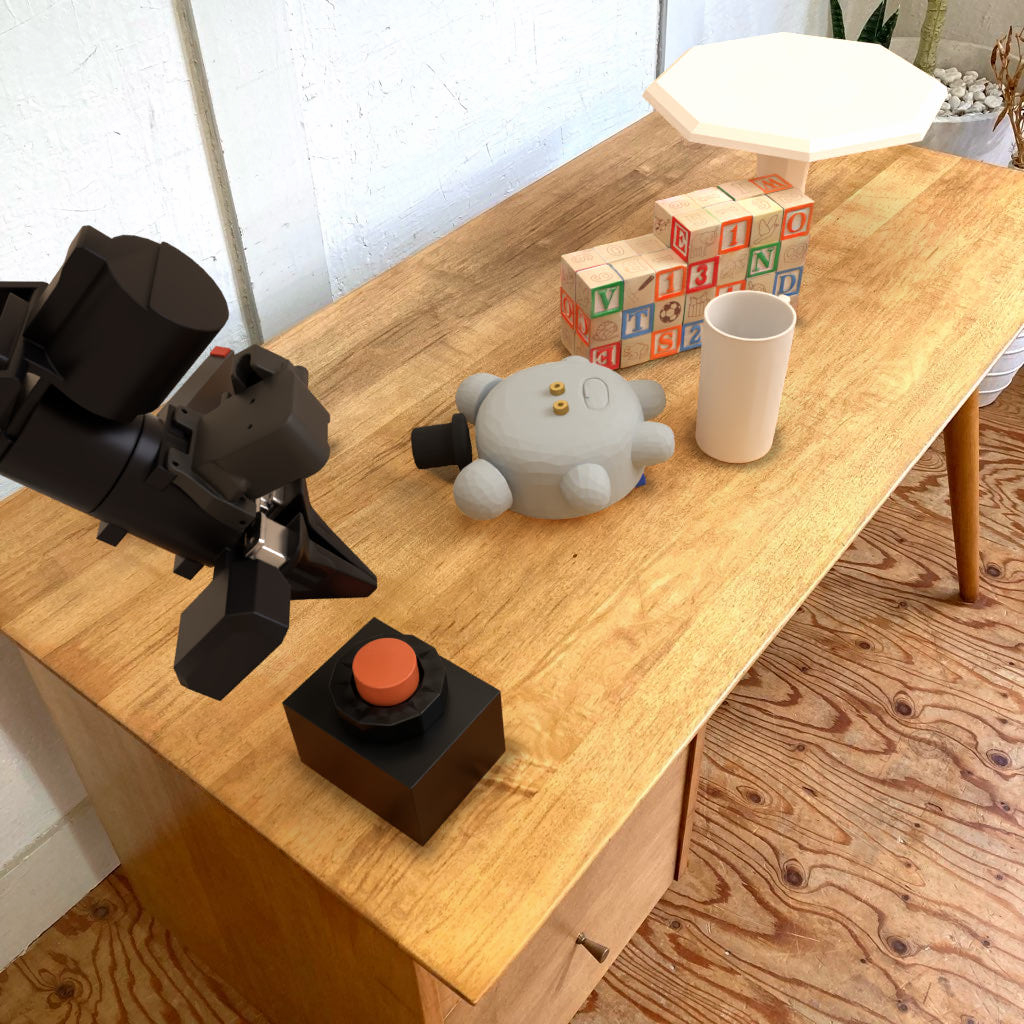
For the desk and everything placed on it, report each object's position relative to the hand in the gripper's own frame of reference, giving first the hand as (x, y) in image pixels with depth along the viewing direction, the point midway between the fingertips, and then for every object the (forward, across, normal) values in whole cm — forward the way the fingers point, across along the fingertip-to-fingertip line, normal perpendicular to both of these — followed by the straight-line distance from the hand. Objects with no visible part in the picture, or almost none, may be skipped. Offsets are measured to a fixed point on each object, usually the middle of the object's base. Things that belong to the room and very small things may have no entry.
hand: (373, 587), depth 59 cm
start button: (+4, -3, +3) cm, 6 cm away
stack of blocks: (+29, +39, -11) cm, 50 cm away
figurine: (+18, +22, 0) cm, 28 cm away
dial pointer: (-3, +27, +16) cm, 31 cm away
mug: (+30, +24, -12) cm, 41 cm away
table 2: (+38, +54, -20) cm, 69 cm away
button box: (+9, -3, +9) cm, 13 cm away
